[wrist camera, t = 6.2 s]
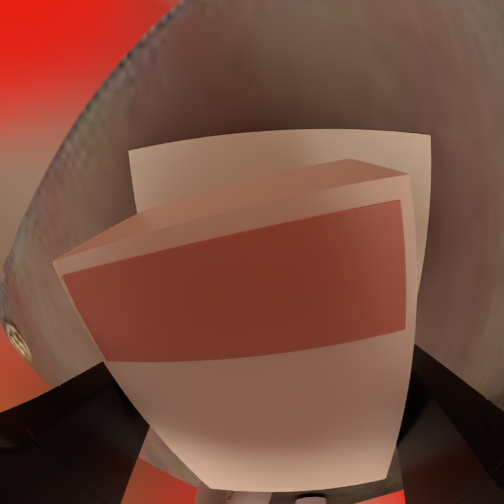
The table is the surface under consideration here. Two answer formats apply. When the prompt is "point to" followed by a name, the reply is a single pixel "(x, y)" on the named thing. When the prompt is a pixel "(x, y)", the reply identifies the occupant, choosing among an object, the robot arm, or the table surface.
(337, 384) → the card deck
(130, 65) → the table surface
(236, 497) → the donut
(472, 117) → the table surface
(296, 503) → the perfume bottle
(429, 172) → the mat
